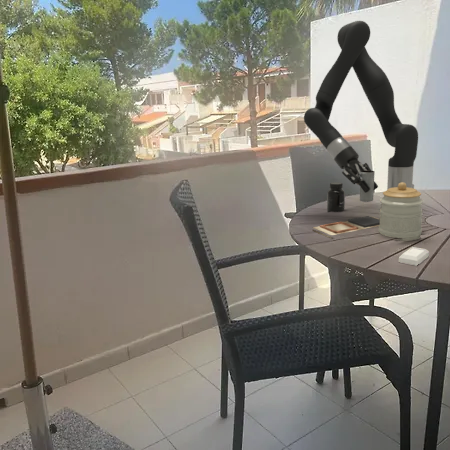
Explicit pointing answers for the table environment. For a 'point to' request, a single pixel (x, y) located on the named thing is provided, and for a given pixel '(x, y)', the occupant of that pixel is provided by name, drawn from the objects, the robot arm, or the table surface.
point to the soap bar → (414, 256)
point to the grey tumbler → (369, 179)
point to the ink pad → (365, 221)
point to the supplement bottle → (335, 198)
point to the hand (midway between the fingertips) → (372, 189)
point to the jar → (401, 213)
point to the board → (339, 228)
